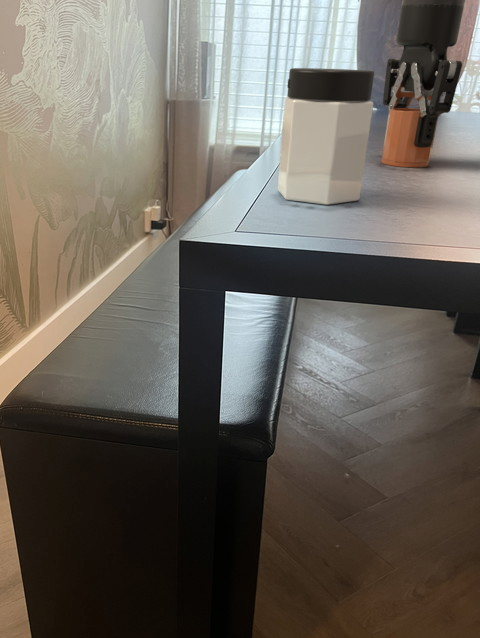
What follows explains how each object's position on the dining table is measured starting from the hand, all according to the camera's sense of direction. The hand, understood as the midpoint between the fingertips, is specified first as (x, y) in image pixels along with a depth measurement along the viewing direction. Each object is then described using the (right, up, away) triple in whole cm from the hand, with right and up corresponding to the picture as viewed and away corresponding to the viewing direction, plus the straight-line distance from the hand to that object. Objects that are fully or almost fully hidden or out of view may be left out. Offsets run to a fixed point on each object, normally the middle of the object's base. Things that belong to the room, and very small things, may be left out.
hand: (407, 143), depth 84 cm
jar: (-17, -13, -20) cm, 29 cm away
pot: (0, -2, +1) cm, 3 cm away
